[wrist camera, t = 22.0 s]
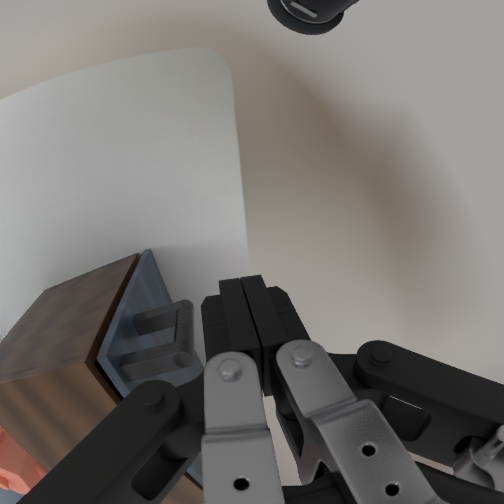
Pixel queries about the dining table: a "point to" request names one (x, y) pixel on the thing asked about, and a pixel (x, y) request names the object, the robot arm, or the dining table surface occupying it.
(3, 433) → the teapot
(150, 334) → the cupboard door
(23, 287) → the dining table surface
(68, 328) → the cupboard
